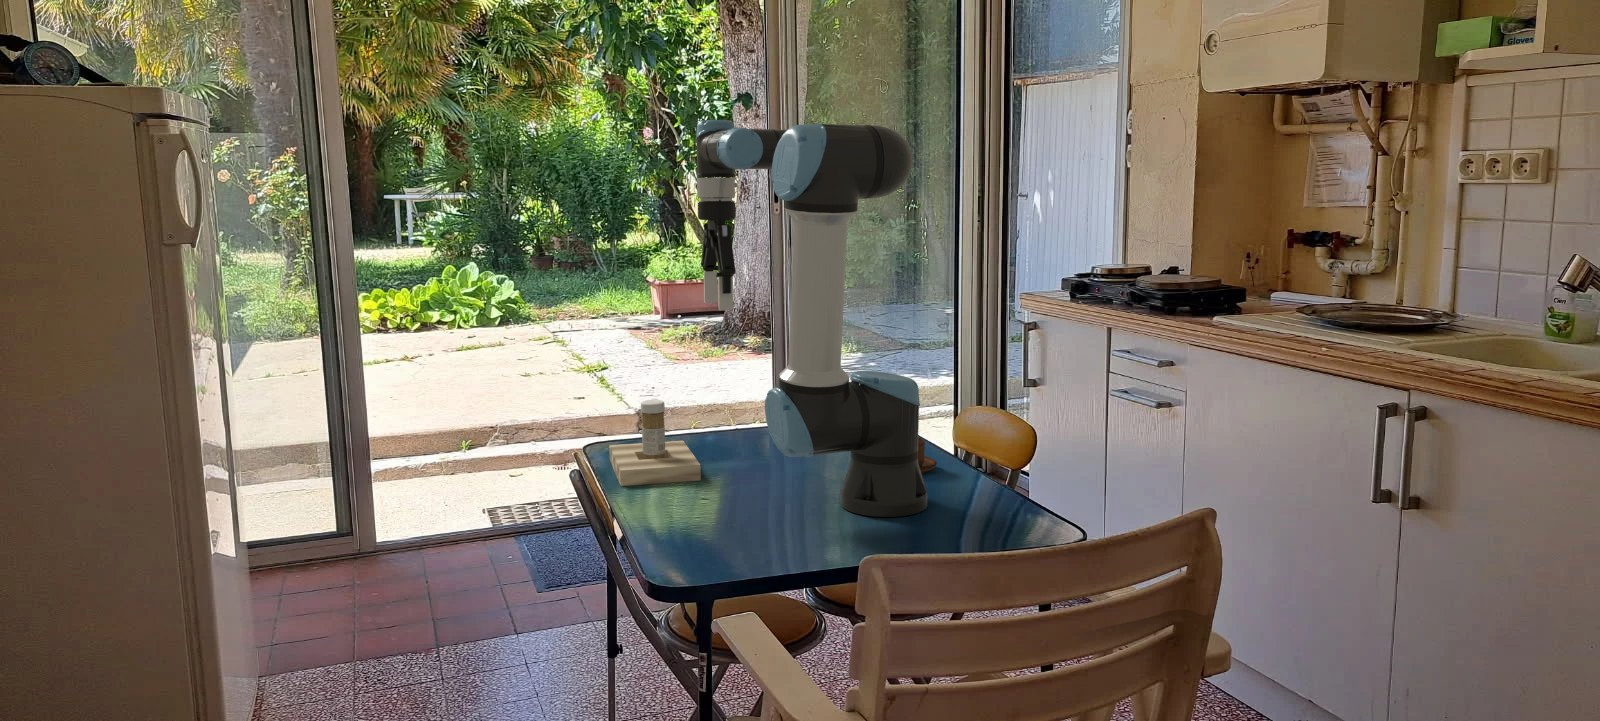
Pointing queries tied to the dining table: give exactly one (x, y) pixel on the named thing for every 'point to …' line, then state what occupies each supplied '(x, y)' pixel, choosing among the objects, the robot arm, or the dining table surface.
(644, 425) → the sprinkles bottle
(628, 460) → the socket plate
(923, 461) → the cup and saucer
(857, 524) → the dining table surface
